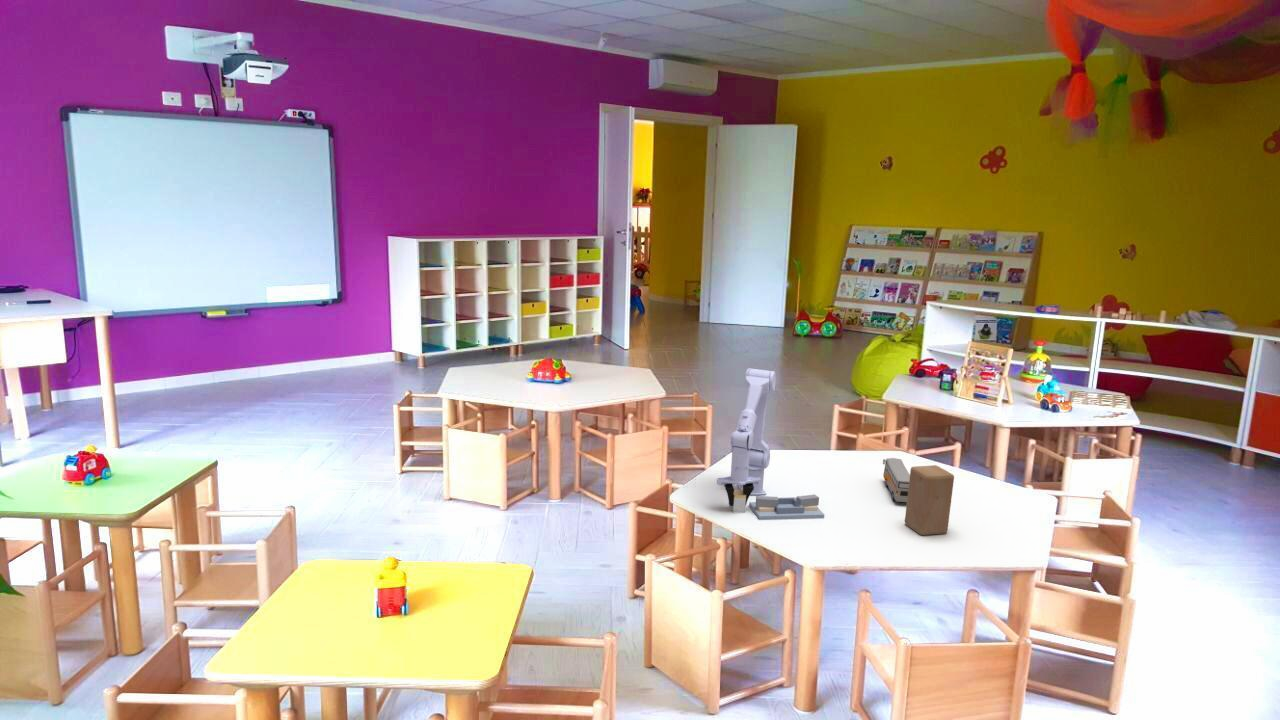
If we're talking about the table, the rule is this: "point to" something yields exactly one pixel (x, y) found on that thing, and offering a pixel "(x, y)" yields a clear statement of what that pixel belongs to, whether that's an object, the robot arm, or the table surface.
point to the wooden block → (929, 499)
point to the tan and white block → (738, 501)
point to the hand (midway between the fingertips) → (737, 504)
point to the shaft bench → (786, 507)
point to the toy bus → (896, 479)
